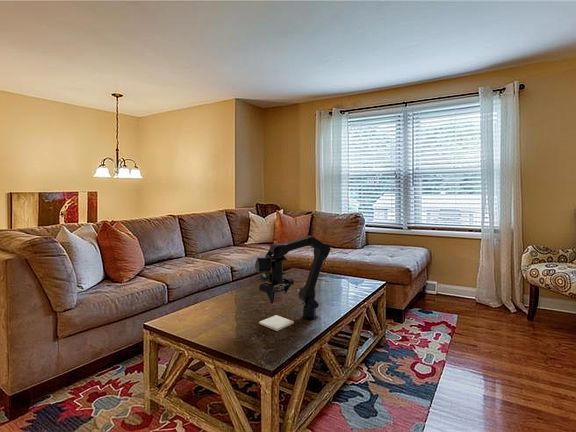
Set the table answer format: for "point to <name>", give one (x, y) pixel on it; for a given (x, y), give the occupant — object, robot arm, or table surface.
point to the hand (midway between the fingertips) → (276, 301)
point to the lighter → (278, 298)
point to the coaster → (276, 322)
